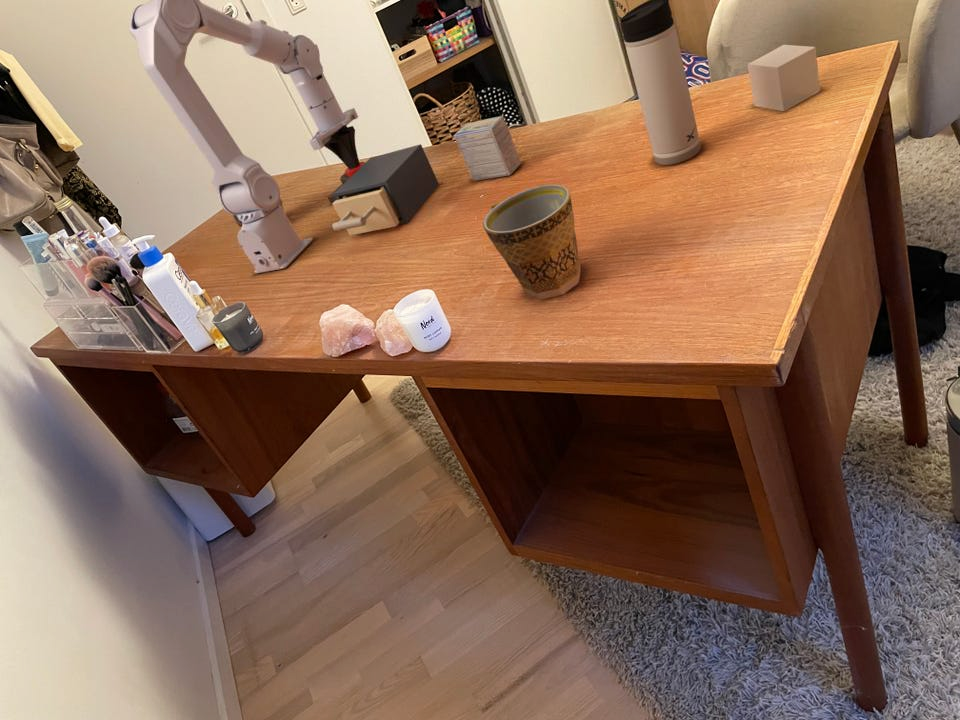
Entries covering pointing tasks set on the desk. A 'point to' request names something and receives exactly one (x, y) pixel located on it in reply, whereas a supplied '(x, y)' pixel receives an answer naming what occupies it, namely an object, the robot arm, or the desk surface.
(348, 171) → the button
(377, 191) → the drawer
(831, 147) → the desk surface
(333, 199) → the button block
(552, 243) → the ceramic cup
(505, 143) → the paper stack
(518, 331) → the desk surface
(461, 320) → the desk surface
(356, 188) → the cabinet
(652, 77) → the travel mug
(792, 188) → the desk surface
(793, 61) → the pinkish grey cube
